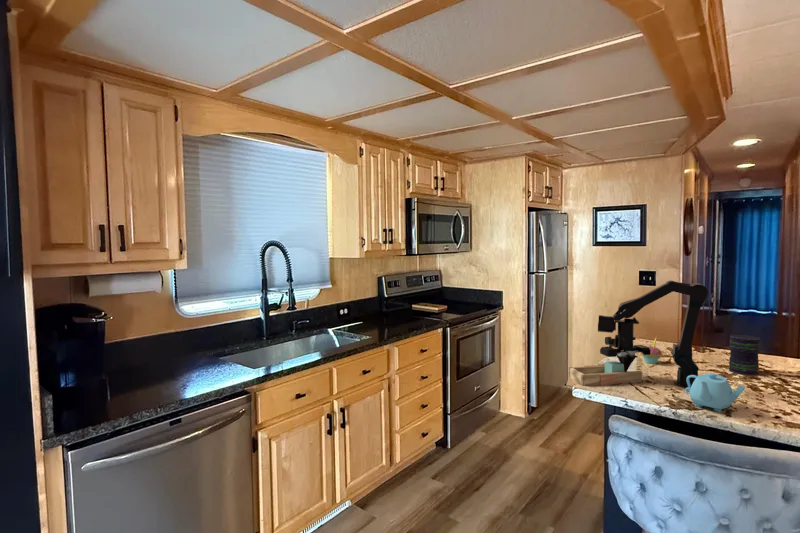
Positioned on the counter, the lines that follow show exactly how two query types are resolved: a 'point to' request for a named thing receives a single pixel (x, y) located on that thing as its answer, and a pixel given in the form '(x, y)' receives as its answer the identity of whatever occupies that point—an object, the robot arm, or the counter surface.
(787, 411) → the counter surface
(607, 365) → the block
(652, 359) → the cupcake
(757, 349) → the storage jar
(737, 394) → the teapot
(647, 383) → the counter surface
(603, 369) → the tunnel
